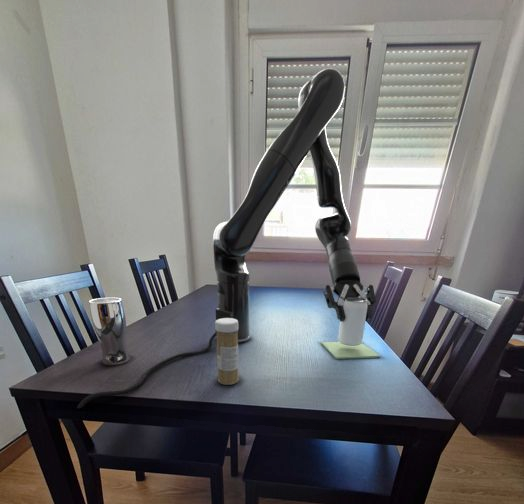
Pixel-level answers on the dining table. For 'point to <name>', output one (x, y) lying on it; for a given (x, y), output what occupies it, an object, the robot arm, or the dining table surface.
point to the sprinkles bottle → (227, 350)
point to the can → (353, 321)
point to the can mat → (349, 350)
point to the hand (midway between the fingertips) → (355, 319)
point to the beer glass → (110, 329)
